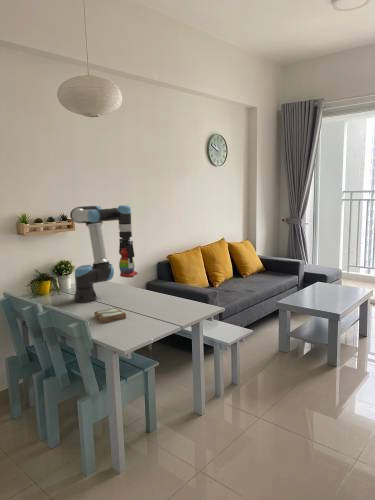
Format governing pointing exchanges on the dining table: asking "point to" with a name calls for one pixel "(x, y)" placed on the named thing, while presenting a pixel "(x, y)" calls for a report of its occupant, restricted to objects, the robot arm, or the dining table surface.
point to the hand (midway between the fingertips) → (127, 266)
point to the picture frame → (110, 315)
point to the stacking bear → (126, 265)
